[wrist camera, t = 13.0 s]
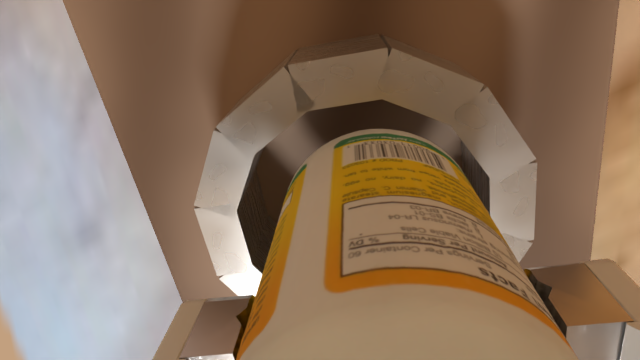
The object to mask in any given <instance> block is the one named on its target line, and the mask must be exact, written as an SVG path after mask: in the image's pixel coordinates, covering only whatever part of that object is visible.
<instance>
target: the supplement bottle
mask: <svg viewBox="0 0 640 360" xmlns="http://www.w3.org/2000/svg"><path fill="white" fill-rule="evenodd" d="M236 360H578V358H577V356H576V355H575V353H574V351H573V350H572V348H571V346H570V344H569V343H568V341H567V339H566V338H565V336H564V335H563V333H562V332H561V330H560V329H559V327H558V325H557V324H556V322H555V320H554V319H553V317H552V316H551V314H550V312H549V311H548V309H547V307H546V306H545V304H544V303H543V301H542V299H541V298H540V296H539V295H538V293H537V291H536V290H535V288H534V287H533V285H532V284H531V282H530V280H529V279H528V277H527V276H526V274H525V272H524V271H523V269H522V267H521V266H520V264H519V262H518V261H517V259H516V257H515V256H514V254H513V252H512V251H511V249H510V247H509V246H508V244H507V242H506V241H505V239H504V237H503V236H502V234H501V233H500V231H499V229H498V228H497V226H496V224H495V223H494V221H493V220H492V218H491V216H490V215H489V213H488V211H487V210H486V208H485V207H484V205H483V203H482V202H481V200H480V199H479V197H478V195H477V194H476V192H475V191H474V189H473V187H472V186H471V184H470V182H469V181H468V179H467V177H466V176H465V175H464V173H463V171H462V170H461V168H460V167H459V165H458V164H457V163H456V162H455V161H454V160H453V159H452V158H451V157H450V156H449V155H448V154H447V153H446V152H445V151H443V150H442V149H441V148H440V147H438V146H437V145H435V144H434V143H432V142H430V141H428V140H426V139H424V138H422V137H420V136H417V135H414V134H411V133H408V132H404V131H399V130H392V129H366V130H359V131H355V132H352V133H349V134H346V135H343V136H340V137H338V138H336V139H334V140H332V141H330V142H328V143H326V144H325V145H323V146H321V147H320V148H319V149H317V150H316V151H315V152H313V153H312V154H311V155H310V156H309V157H308V158H307V159H306V160H305V161H304V163H303V164H302V165H301V166H300V167H299V169H298V170H297V172H296V173H295V175H294V177H293V179H292V181H291V183H290V185H289V188H288V191H287V193H286V196H285V199H284V203H283V206H282V210H281V213H280V216H279V220H278V223H277V227H276V230H275V234H274V237H273V240H272V244H271V247H270V250H269V253H268V257H267V260H266V264H265V267H264V270H263V274H262V277H261V280H260V284H259V287H258V290H257V293H256V296H255V299H254V302H253V306H252V309H251V313H250V316H249V319H248V322H247V326H246V329H245V332H244V335H243V337H242V340H241V345H240V348H239V350H238V354H237V358H236Z"/></svg>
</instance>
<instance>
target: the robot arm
mask: <svg viewBox="0 0 640 360" xmlns="http://www.w3.org/2000/svg"><path fill="white" fill-rule="evenodd" d="M524 272H525V274H526V276H527V277H528V279H529V280H530V282H531V284H532V285H533V287H534V288H535V290H536V291H537V293H538V295H539V296H540V298H541V299H542V301H543V303H544V304H545V306H546V307H547V309H548V311H549V312H550V314H551V316H552V317H553V319H554V320H555V322H556V324H557V325H558V327H559V329H560V330H561V332H562V333H563V335H564V336H565V338H566V339H567V341H568V343H569V344H570V346H571V348H572V350H573V351H574V353H575V355H576V356H577V358H578V360H640V287H639V286H638V285H637V284H636V283H635V282H634V281H633V280H632V279H631V278H630V277H629V276H628V275H627V274H626V273H625V272H624V271H623V270H622V269H621V268H620V267H619V266H618V265H617V264H616V263H615V262H614V261H612V260H610V259H601V260H593V261H584V262H579V263H573V264H563V265H554V266H544V267H534V268H525V269H524ZM254 299H255V296H254V295H246V296H233V297H219V298H209V299H197V300H187V301H185V302H184V303H182V304H181V305H180V307H179V309H178V311H177V313H176V315H175V317H174V319H173V321H172V323H171V325H170V327H169V328H168V330H167V332H166V334H165V336H164V338H163V340H162V342H161V344H160V346H159V348H158V350H157V352H156V353H155V355H154V357H153V359H152V360H236V358H237V354H238V350H239V348H240V345H241V340H242V337H243V335H244V332H245V329H246V326H247V322H248V319H249V316H250V313H251V309H252V306H253V302H254Z"/></svg>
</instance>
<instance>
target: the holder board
mask: <svg viewBox="0 0 640 360" xmlns="http://www.w3.org/2000/svg"><path fill="white" fill-rule="evenodd" d="M63 2H64V5H65V7H66V10H67V12H68V15H69V18H70V20H71V23H72V25H73V28H74V30H75V33H76V35H77V38H78V40H79V43H80V45H81V48H82V50H83V53H84V55H85V58H86V60H87V63H88V65H89V68H90V70H91V73H92V75H93V78H94V80H95V83H96V85H97V88H98V90H99V93H100V95H101V98H102V100H103V103H104V105H105V108H106V110H107V113H108V115H109V118H110V121H111V123H112V126H113V128H114V131H115V133H116V136H117V138H118V141H119V143H120V146H121V148H122V151H123V153H124V156H125V158H126V161H127V163H128V166H129V168H130V171H131V173H132V176H133V178H134V181H135V183H136V186H137V188H138V191H139V193H140V196H141V198H142V201H143V203H144V206H145V208H146V211H147V213H148V216H149V219H150V221H151V224H152V226H153V229H154V231H155V234H156V236H157V239H158V241H159V244H160V246H161V249H162V251H163V254H164V256H165V259H166V261H167V264H168V266H169V269H170V271H171V274H172V276H173V279H174V281H175V284H176V286H177V289H178V291H179V294H180V296H181V299H182V301H183V303H184V302H185V301H187V300H197V299H209V298H219V297H233V296H246V295H254V296H256V293H257V290H258V287H259V284H260V280H261V277H262V274H263V270H264V267H265V264H266V260H267V257H268V253H269V250H270V247H271V244H272V240H273V237H274V234H275V230H276V227H277V223H278V220H279V216H280V213H281V210H282V206H283V203H284V199H285V196H286V193H287V191H288V188H289V185H290V183H291V181H292V179H293V177H294V175H295V173H296V172H297V170H298V169H299V167H300V166H301V165H302V164H303V163H304V161H305V160H306V159H307V158H308V157H309V156H310V155H311V154H312V153H313V152H315V151H316V150H317V149H319V148H320V147H321V146H323V145H325V144H326V143H328V142H330V141H332V140H334V139H336V138H338V137H340V136H343V135H346V134H349V133H352V132H355V131H359V130H366V129H392V130H399V131H404V132H408V133H411V134H414V135H417V136H420V137H422V138H424V139H426V140H428V141H430V142H432V143H434V144H435V145H437V146H438V147H440V148H441V149H442V150H443V151H445V152H446V153H447V154H448V155H449V156H450V157H451V158H452V159H453V160H454V161H455V162H456V163H457V164H458V165H459V167H460V168H461V170H462V171H463V173H464V175H465V176H466V177H467V179H468V181H469V182H470V184H471V186H472V187H473V189H474V191H475V192H476V194H477V195H478V197H479V199H480V200H481V202H482V203H483V205H484V207H485V208H486V210H487V211H488V213H489V215H490V216H491V218H492V220H493V221H494V223H495V224H496V226H497V228H498V229H499V231H500V233H501V234H502V236H503V237H504V239H505V241H506V242H507V244H508V246H509V247H510V249H511V251H512V252H513V254H514V256H515V257H516V259H517V261H518V262H519V264H520V266H521V267H522V269H523V271H524V269H525V268H534V267H544V266H554V265H563V264H573V263H579V262H584V261H590V258H591V249H592V240H593V231H594V223H595V214H596V205H597V196H598V187H599V178H600V169H601V160H602V151H603V142H604V133H605V124H606V115H607V106H608V97H609V88H610V79H611V70H612V61H613V53H614V44H615V35H616V26H617V17H618V8H619V0H63Z"/></svg>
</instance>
